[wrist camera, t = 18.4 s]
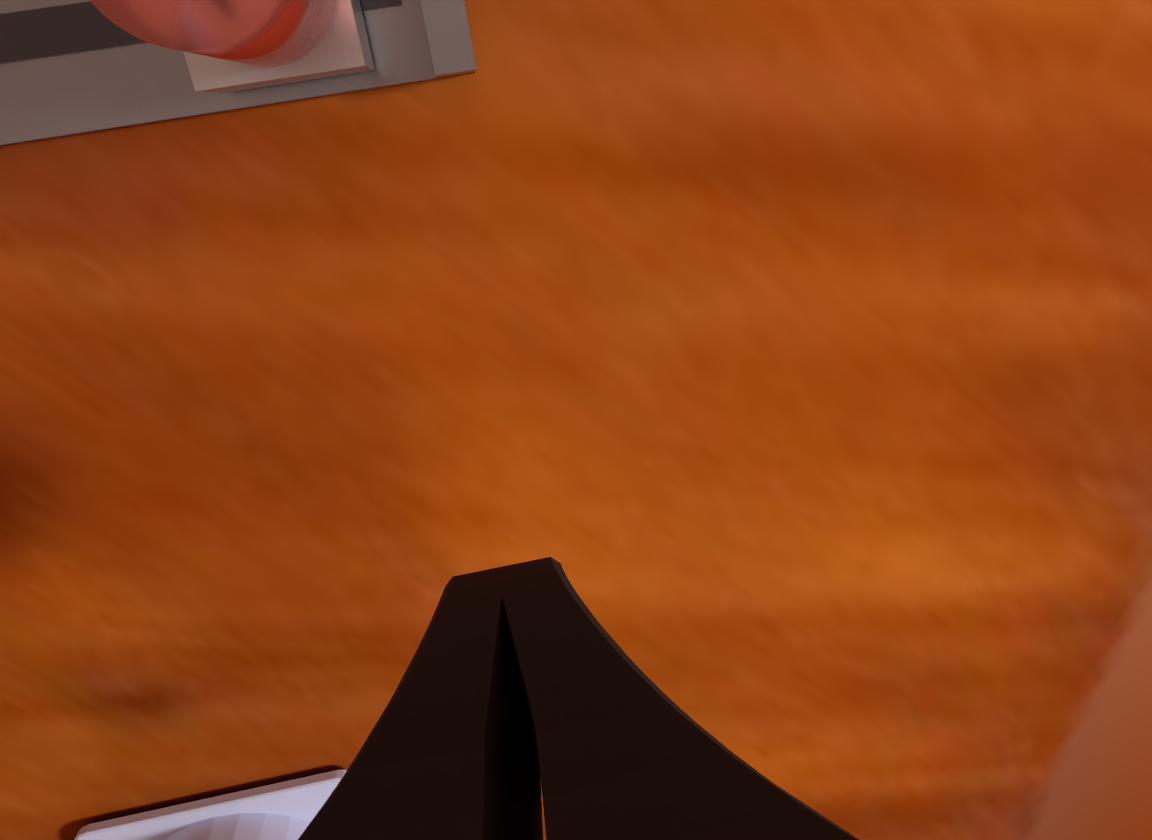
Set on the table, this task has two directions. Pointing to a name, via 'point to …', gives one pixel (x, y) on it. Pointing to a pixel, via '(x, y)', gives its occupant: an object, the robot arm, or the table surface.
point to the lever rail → (186, 67)
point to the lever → (250, 38)
